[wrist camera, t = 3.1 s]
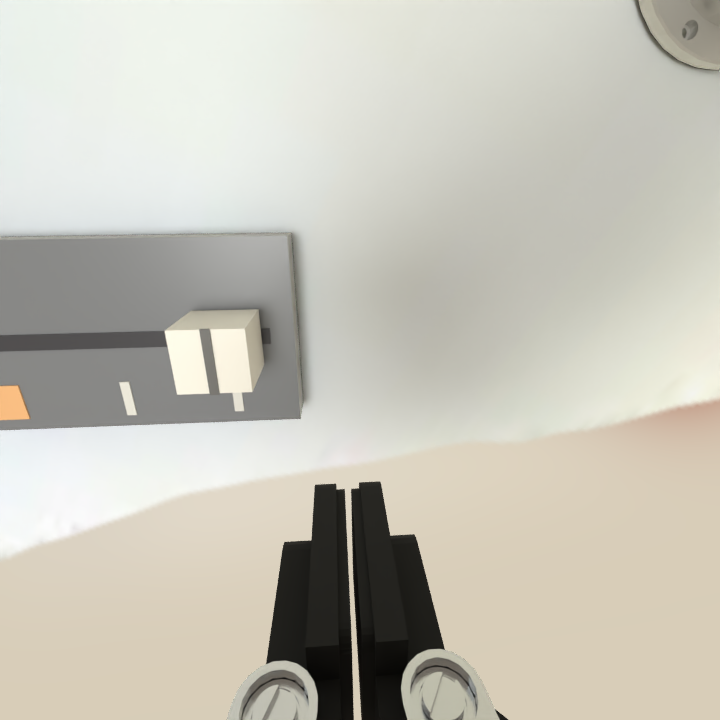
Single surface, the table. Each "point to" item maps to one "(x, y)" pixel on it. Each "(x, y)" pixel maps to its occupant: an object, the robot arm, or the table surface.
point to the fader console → (137, 327)
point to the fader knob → (216, 351)
